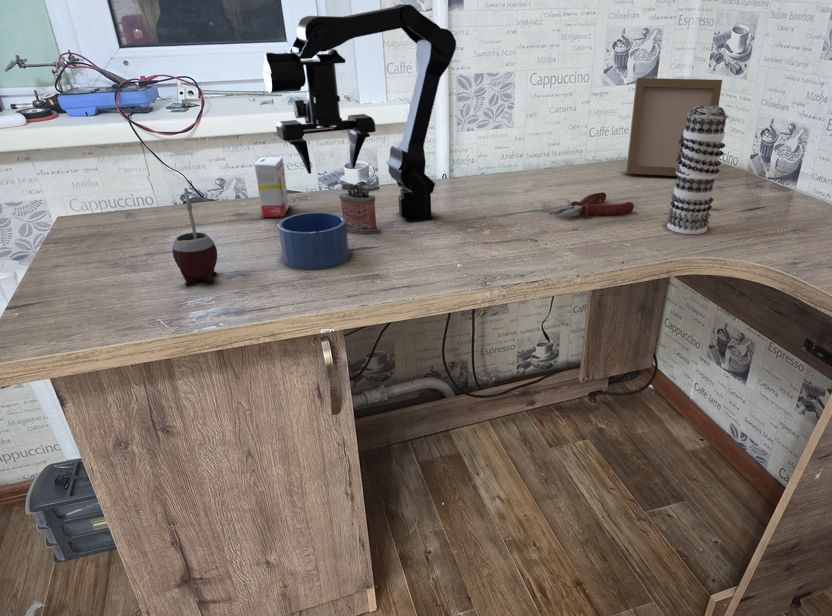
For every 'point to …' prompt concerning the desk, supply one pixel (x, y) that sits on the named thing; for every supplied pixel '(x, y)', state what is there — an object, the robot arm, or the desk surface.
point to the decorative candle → (697, 169)
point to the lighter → (358, 208)
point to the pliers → (593, 207)
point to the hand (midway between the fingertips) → (331, 170)
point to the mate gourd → (195, 253)
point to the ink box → (272, 186)
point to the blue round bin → (314, 240)
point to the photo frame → (664, 120)
